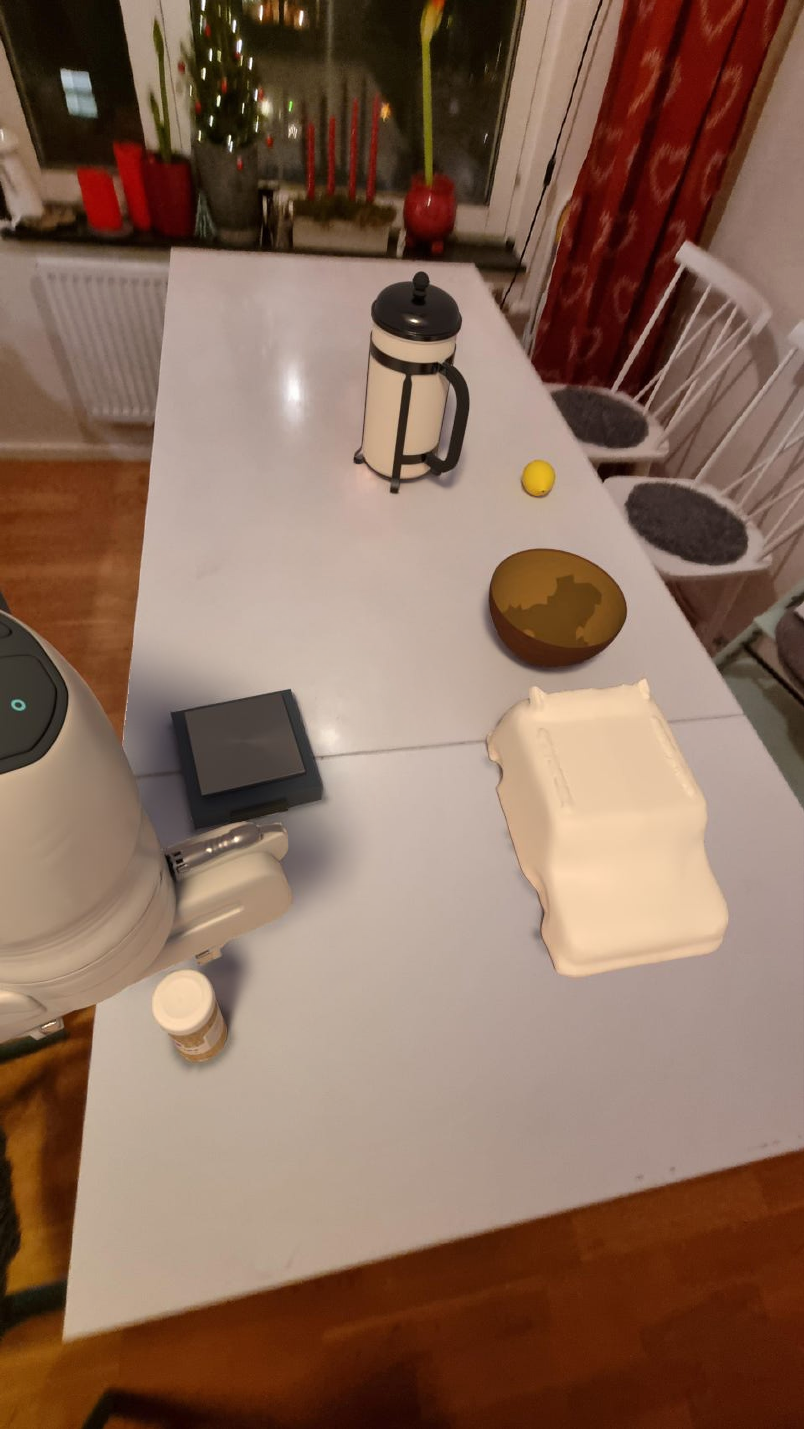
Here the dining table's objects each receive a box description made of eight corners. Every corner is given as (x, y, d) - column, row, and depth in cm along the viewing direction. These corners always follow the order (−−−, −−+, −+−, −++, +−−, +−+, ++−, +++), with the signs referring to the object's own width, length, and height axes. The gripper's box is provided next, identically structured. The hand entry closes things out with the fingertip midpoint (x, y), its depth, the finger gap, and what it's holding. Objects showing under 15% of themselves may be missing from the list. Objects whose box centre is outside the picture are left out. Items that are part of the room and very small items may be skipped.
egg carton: (617, 723, 90) (659, 655, 79) (721, 954, 73) (793, 909, 62) (476, 738, 86) (500, 669, 75) (552, 986, 69) (598, 943, 58)
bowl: (490, 701, 90) (508, 650, 82) (463, 602, 100) (477, 548, 92) (617, 694, 93) (647, 645, 85) (578, 599, 103) (602, 547, 95)
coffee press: (343, 489, 112) (354, 288, 88) (362, 434, 121) (377, 239, 97) (449, 510, 112) (489, 315, 87) (459, 454, 121) (499, 264, 97)
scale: (196, 836, 74) (192, 823, 72) (174, 727, 82) (170, 712, 79) (323, 805, 78) (323, 791, 76) (291, 703, 86) (290, 688, 83)
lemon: (515, 478, 119) (523, 450, 114) (546, 480, 120) (555, 452, 115) (522, 504, 115) (530, 476, 110) (553, 506, 115) (563, 478, 111)
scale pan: (202, 798, 73) (201, 795, 72) (185, 715, 78) (184, 712, 78) (305, 774, 76) (305, 771, 75) (281, 696, 82) (281, 692, 81)
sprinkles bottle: (166, 1050, 62) (137, 1014, 51) (194, 1000, 65) (172, 957, 54) (211, 1072, 61) (191, 1041, 51) (237, 1021, 64) (224, 981, 53)
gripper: (263, 765, 36) (272, 871, 47) (-201, 934, 29) (-62, 1012, 40) (311, 867, 33) (309, 955, 44) (-192, 1085, 26) (-44, 1125, 37)
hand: (130, 984), depth 42 cm, fingers open, 8 cm apart
